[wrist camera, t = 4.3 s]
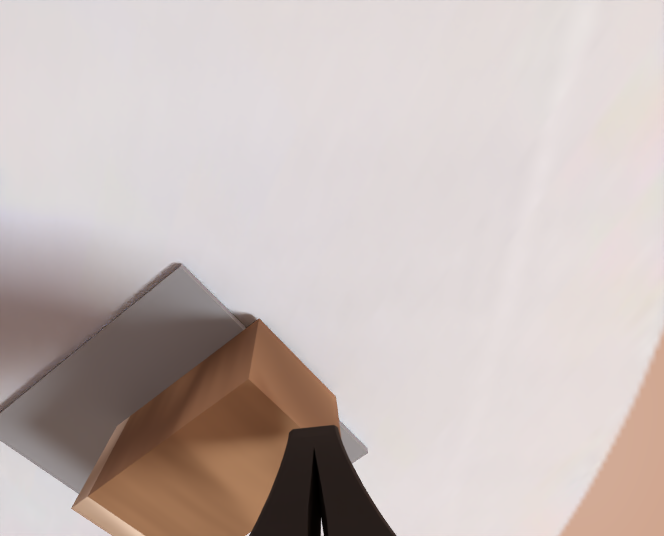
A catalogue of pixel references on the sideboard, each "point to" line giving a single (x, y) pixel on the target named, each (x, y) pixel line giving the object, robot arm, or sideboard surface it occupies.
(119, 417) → the slate rubber mat
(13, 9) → the sideboard surface
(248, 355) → the walnut block
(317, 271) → the sideboard surface
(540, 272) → the sideboard surface
